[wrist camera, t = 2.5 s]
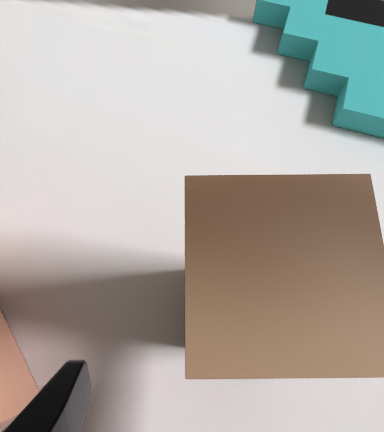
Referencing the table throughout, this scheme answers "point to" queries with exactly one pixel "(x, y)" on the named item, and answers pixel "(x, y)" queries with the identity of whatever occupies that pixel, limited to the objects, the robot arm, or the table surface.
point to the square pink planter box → (13, 377)
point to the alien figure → (336, 53)
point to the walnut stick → (283, 277)
